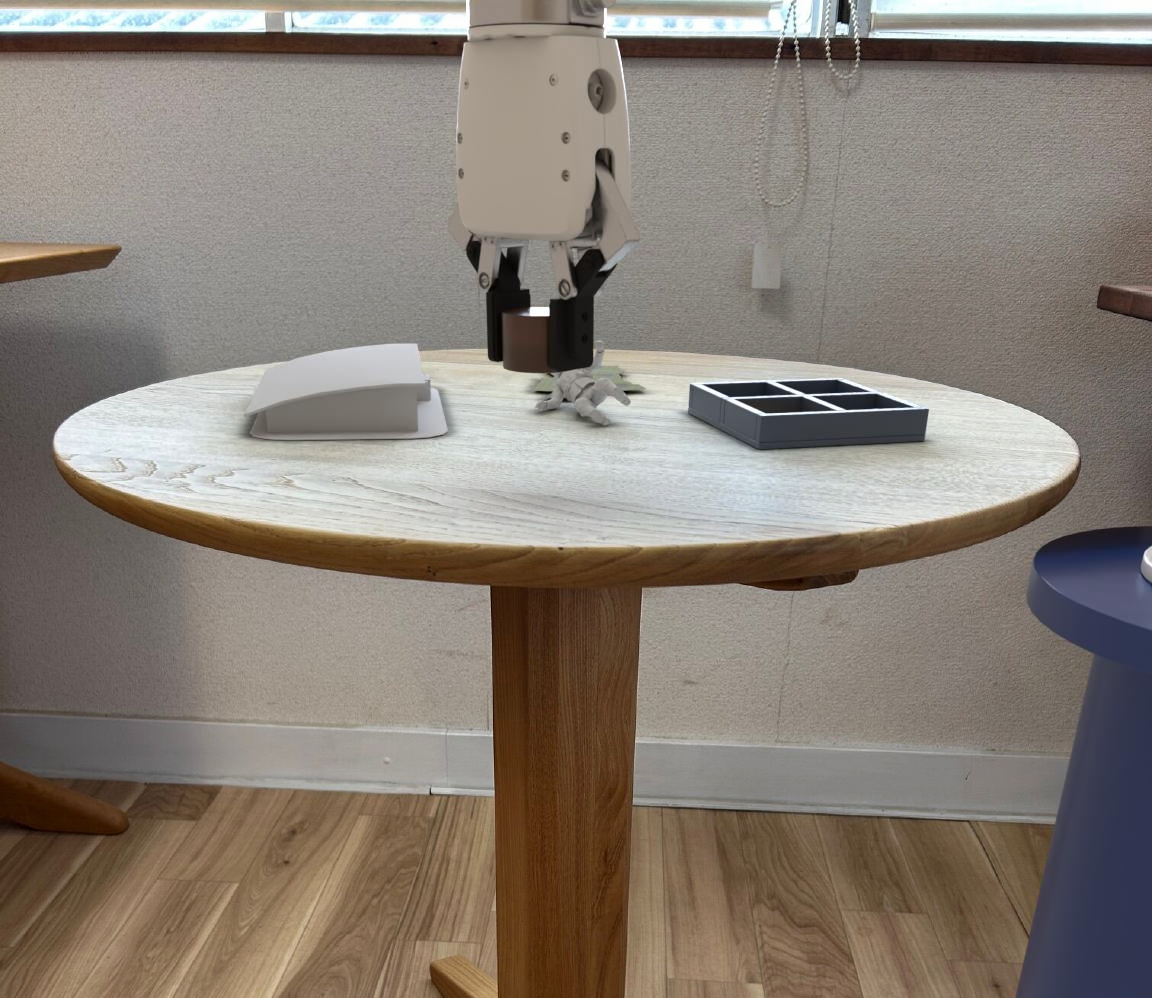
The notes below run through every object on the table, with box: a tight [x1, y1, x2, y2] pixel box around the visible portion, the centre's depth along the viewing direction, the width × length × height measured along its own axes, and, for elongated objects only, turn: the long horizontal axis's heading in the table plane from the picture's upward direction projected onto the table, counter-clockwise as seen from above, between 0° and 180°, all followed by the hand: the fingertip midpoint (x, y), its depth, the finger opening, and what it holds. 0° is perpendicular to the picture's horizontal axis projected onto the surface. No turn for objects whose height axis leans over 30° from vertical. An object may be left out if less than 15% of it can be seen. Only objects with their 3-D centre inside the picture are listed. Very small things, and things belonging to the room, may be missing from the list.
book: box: [244, 342, 449, 441], centre depth 102 cm, size 15×23×4 cm, turn 8°
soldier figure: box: [534, 339, 632, 426], centre depth 103 cm, size 8×5×12 cm
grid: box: [687, 377, 930, 450], centre depth 100 cm, size 14×14×2 cm
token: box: [502, 306, 571, 374], centre depth 73 cm, size 4×4×3 cm
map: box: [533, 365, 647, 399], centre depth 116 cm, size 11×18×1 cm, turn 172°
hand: (540, 360), depth 74 cm, fingers closed on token, 4 cm apart
